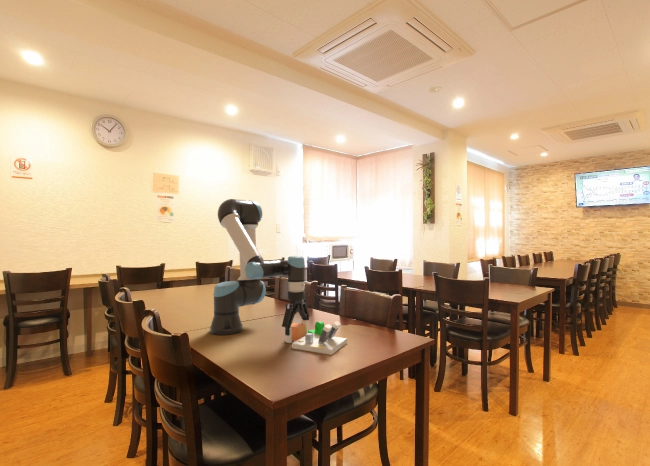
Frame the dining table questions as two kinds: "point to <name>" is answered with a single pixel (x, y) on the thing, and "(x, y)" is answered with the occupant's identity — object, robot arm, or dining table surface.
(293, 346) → the panel
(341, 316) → the dining table surface
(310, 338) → the post
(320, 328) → the mechanical part
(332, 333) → the lever plain
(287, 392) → the dining table surface
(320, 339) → the lever tagged
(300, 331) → the cap
